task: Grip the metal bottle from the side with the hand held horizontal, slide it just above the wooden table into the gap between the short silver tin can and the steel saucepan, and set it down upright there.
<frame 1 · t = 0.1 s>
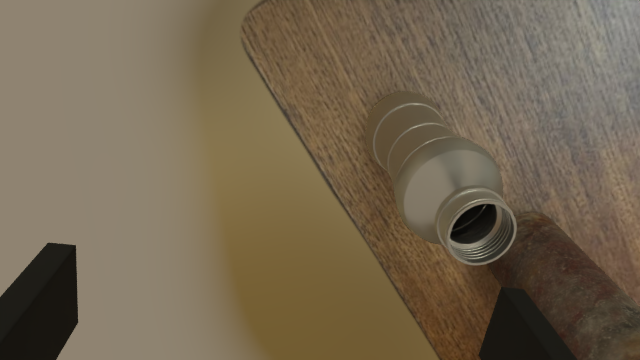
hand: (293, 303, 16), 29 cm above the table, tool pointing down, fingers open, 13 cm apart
metal bottle: (397, 123, 44), on the table
candle: (515, 240, 49), on the table
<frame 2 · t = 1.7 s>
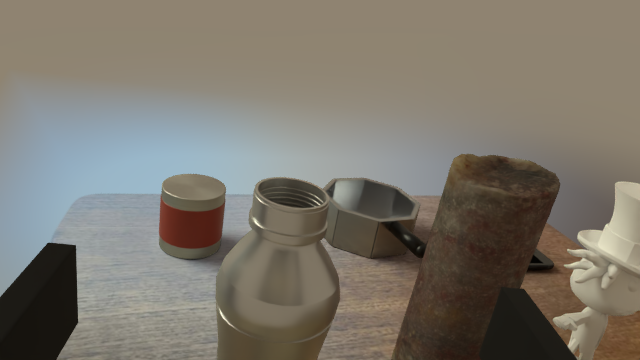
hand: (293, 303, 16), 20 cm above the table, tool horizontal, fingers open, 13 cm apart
saucepan: (363, 232, 65), on the table
smartphone: (489, 256, 65), on the table
tin can: (190, 243, 56), on the table
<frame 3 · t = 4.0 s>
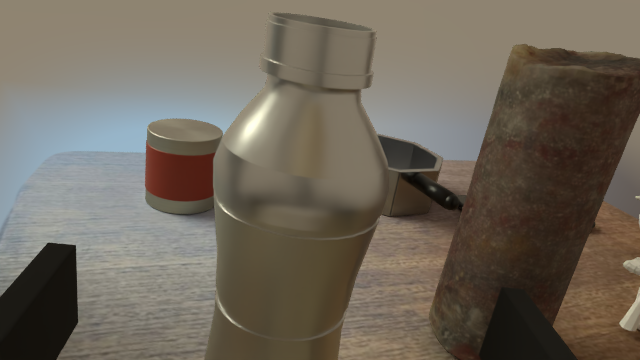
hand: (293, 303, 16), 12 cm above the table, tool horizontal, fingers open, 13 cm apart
saucepan: (378, 191, 58), on the table
tin can: (181, 199, 48), on the table
figurine: (636, 330, 39), on the table
candle: (478, 349, 34), on the table
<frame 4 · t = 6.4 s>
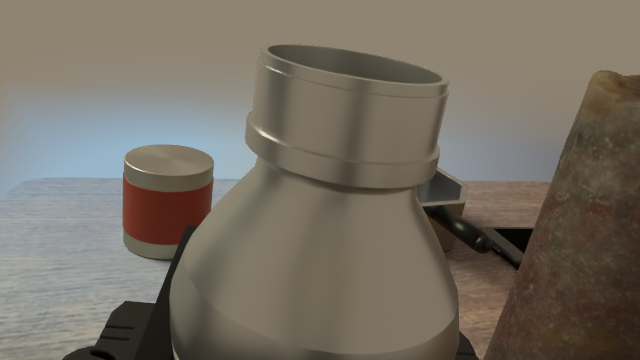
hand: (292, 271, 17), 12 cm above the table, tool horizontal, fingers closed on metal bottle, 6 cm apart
saucepan: (394, 223, 51), on the table
smartphone: (556, 251, 50), on the table
tin can: (166, 238, 41), on the table
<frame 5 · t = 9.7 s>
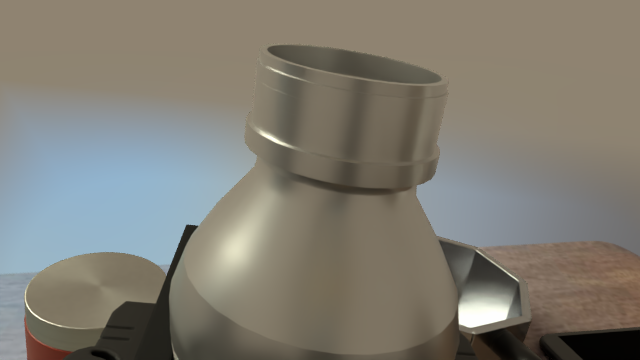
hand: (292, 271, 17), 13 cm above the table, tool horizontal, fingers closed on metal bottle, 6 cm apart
saucepan: (425, 330, 37), on the table
when the fingers open (12 cm above the table, at t = 13.3 s): metal bottle stays where it is, on the table.
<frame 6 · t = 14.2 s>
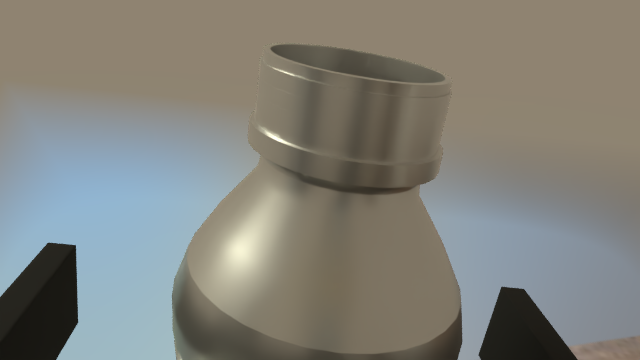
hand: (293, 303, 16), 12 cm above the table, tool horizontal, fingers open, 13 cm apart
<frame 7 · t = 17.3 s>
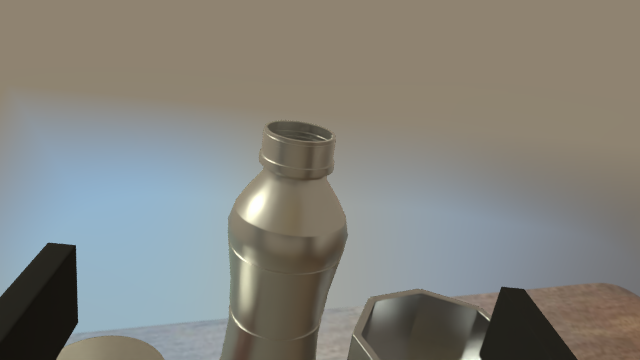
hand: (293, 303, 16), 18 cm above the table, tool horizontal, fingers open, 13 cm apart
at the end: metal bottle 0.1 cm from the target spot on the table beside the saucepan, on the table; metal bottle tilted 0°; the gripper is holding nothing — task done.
